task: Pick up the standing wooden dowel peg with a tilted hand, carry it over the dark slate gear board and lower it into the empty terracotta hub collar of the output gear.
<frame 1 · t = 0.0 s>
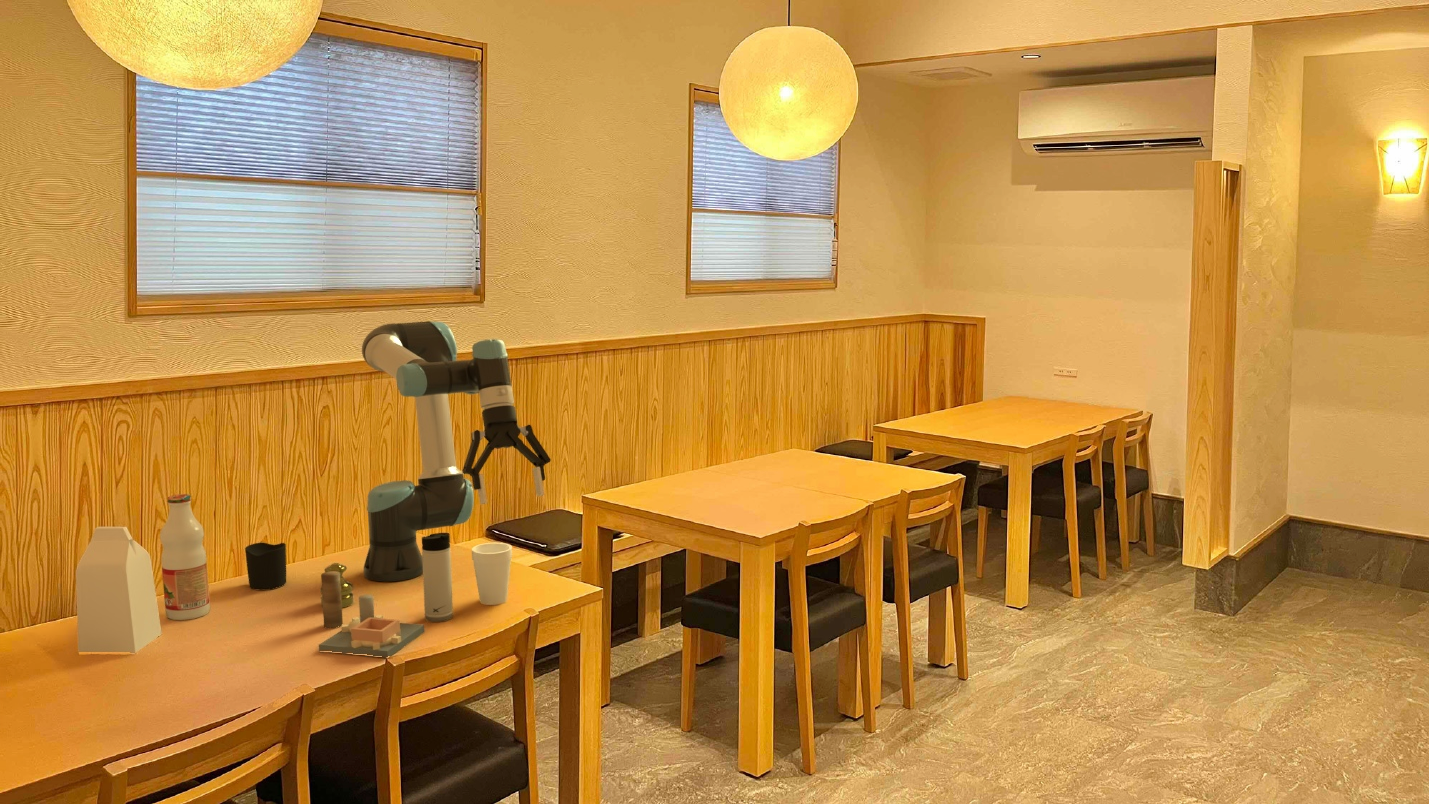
hand: (512, 499, 255), 28 cm above the table, tool tilted 20°, fingers open, 13 cm apart
travel mug: (439, 618, 260), on the table
foam cup: (493, 601, 272), on the table
fruit juice: (188, 614, 263), on the table
milk: (121, 645, 244), on the table
wooden dowel peg: (333, 625, 256), on the table
gear board: (373, 641, 246), on the table
pen holder: (268, 586, 284), on the table
salt shaker: (337, 605, 270), on the table
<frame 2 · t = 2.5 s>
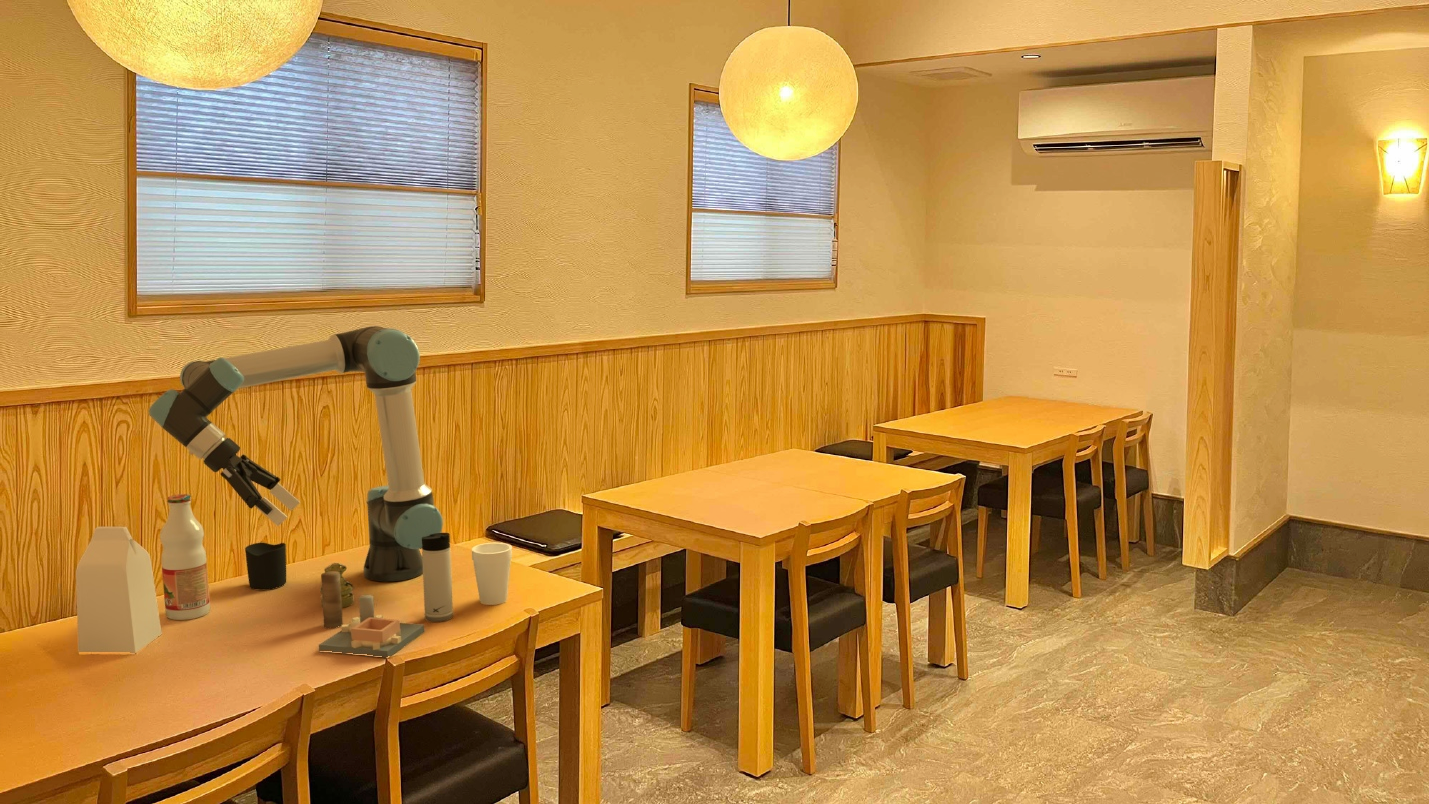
hand: (289, 514, 252), 26 cm above the table, tool tilted 45°, fingers open, 13 cm apart
nothing on the table moved.
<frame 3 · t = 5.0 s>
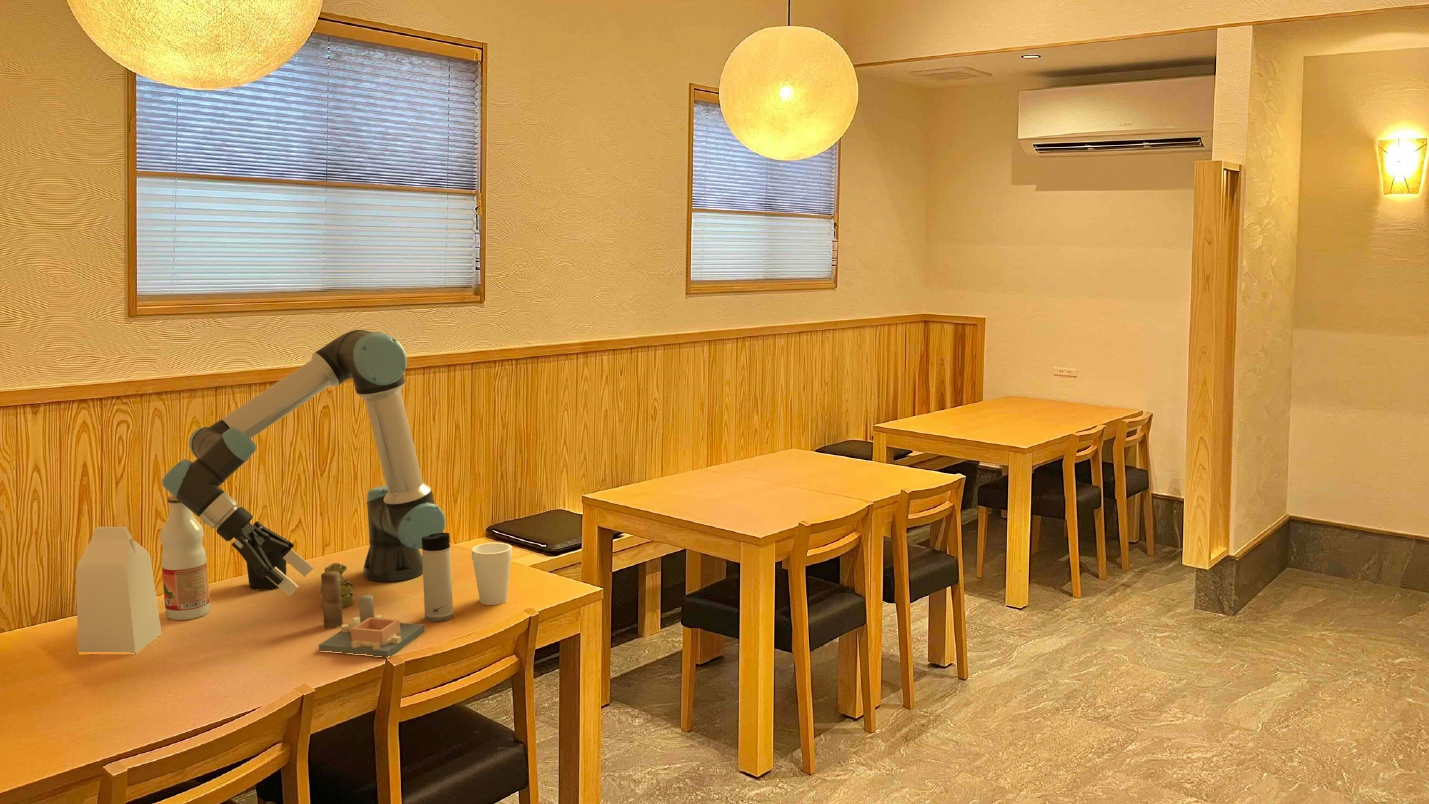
hand: (301, 581, 253), 11 cm above the table, tool tilted 45°, fingers open, 13 cm apart
nothing on the table moved.
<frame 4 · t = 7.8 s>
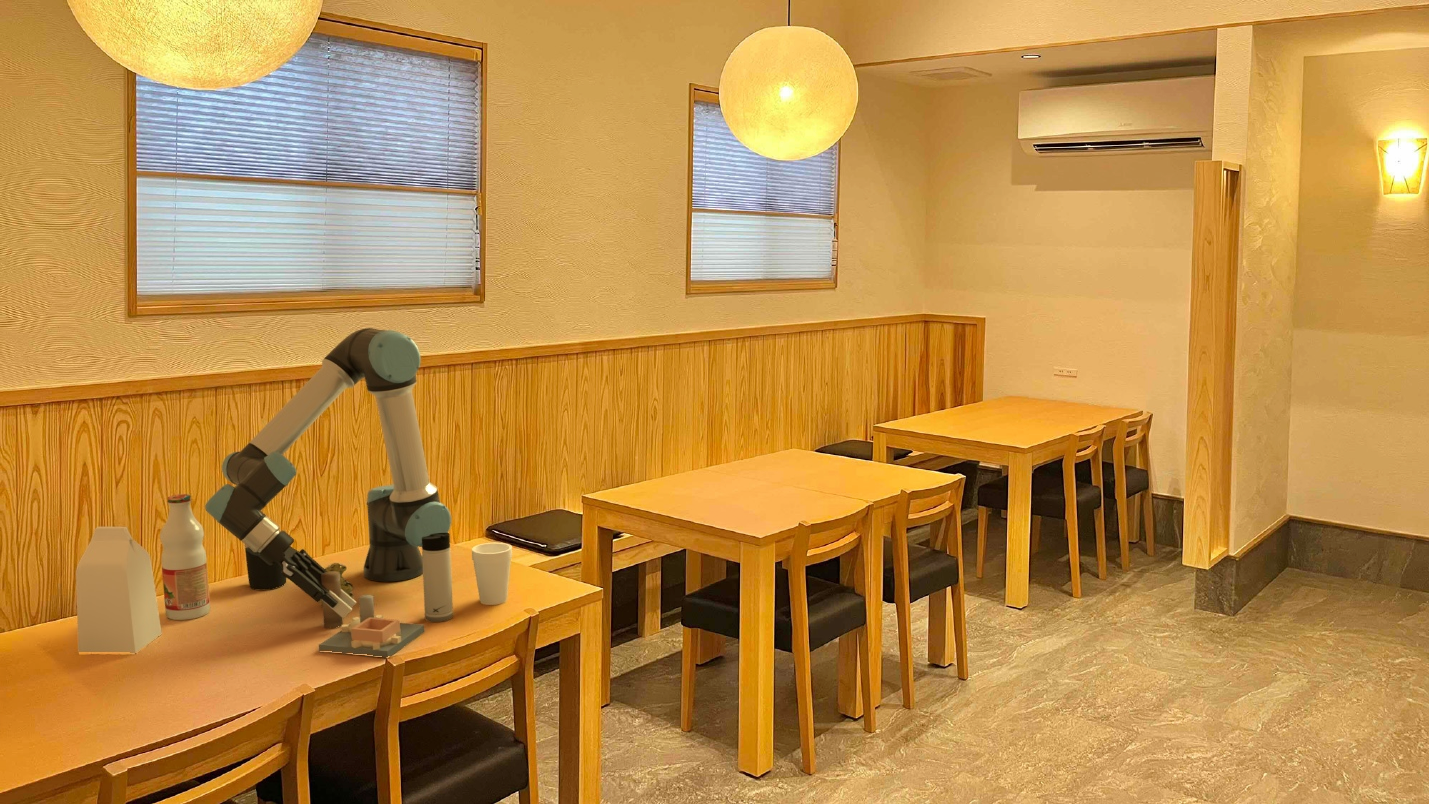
hand: (350, 610, 256), 3 cm above the table, tool tilted 45°, fingers closed on wooden dowel peg, 4 cm apart
wooden dowel peg: (333, 625, 256), on the table, touching gripper
everything else where it was.
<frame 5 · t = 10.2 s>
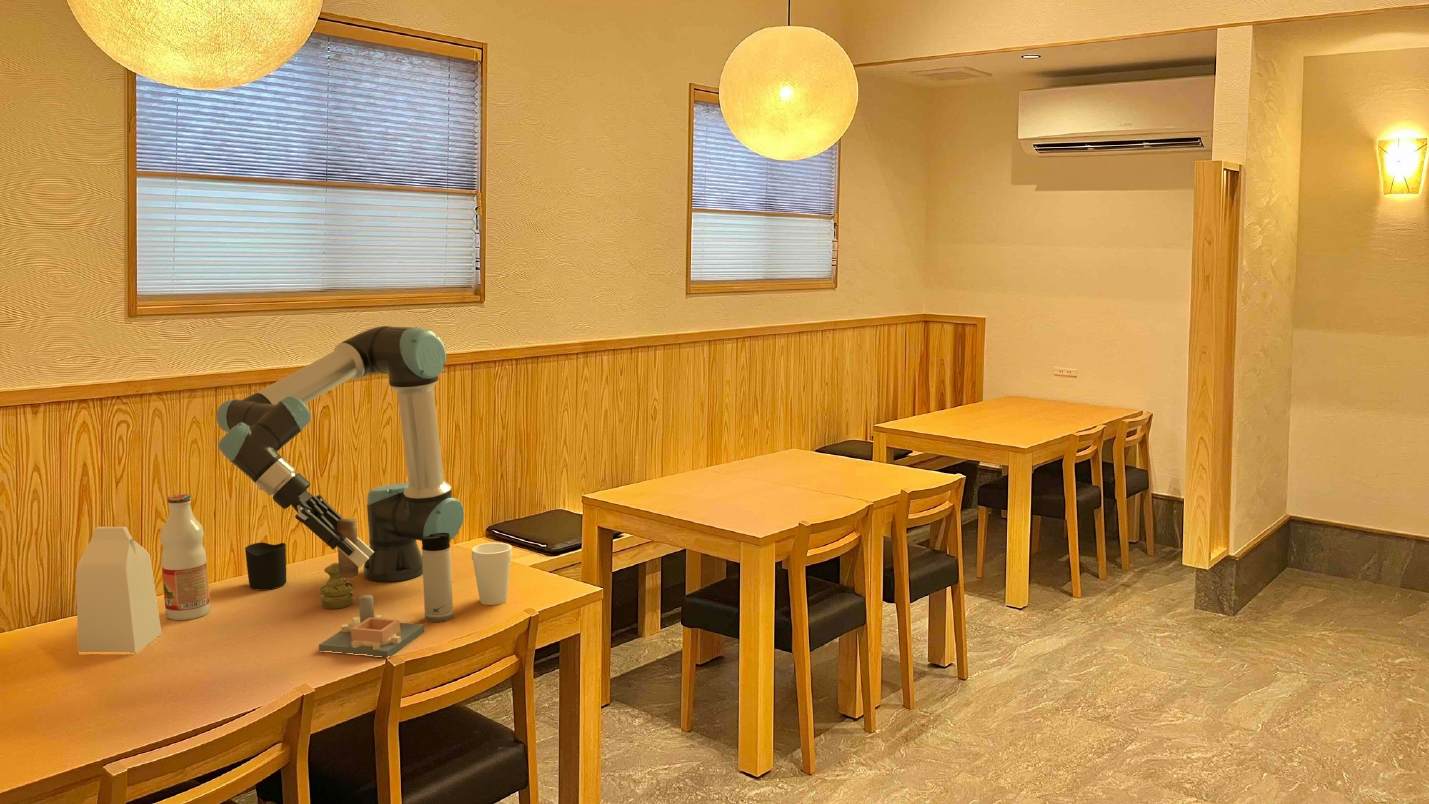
hand: (366, 559, 243), 18 cm above the table, tool tilted 45°, fingers closed on wooden dowel peg, 4 cm apart
wooden dowel peg: (348, 575, 243), point 15 cm above the table, touching gripper
everything else where it was.
when the fingers open (8 cm above the table, at t = 12.9 s): wooden dowel peg drops 1 cm, resting on gear board.
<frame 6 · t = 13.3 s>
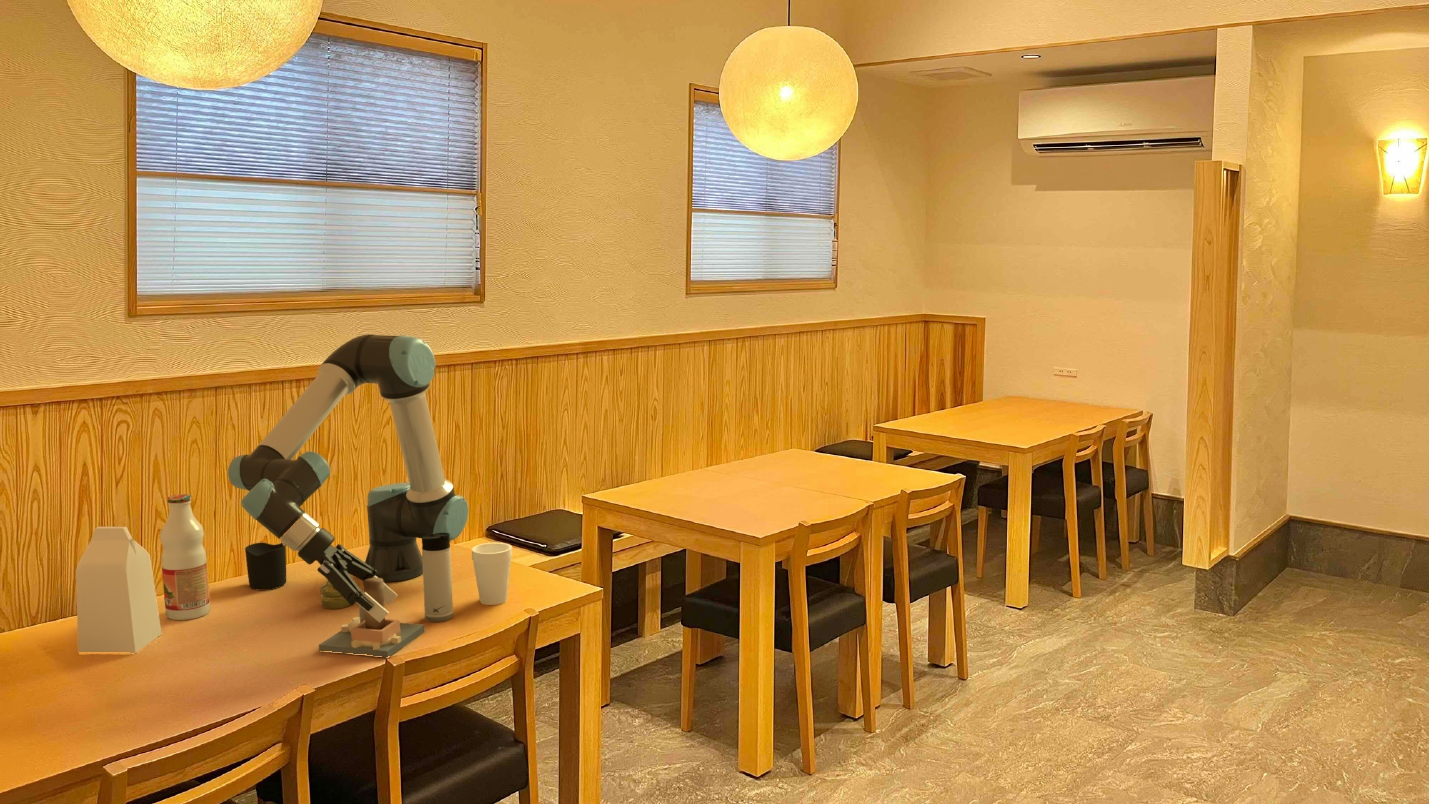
hand: (389, 608, 241), 9 cm above the table, tool tilted 45°, fingers open, 10 cm apart
wooden dowel peg: (375, 635, 242), point 3 cm above the table, touching gear board
everything else where it was.
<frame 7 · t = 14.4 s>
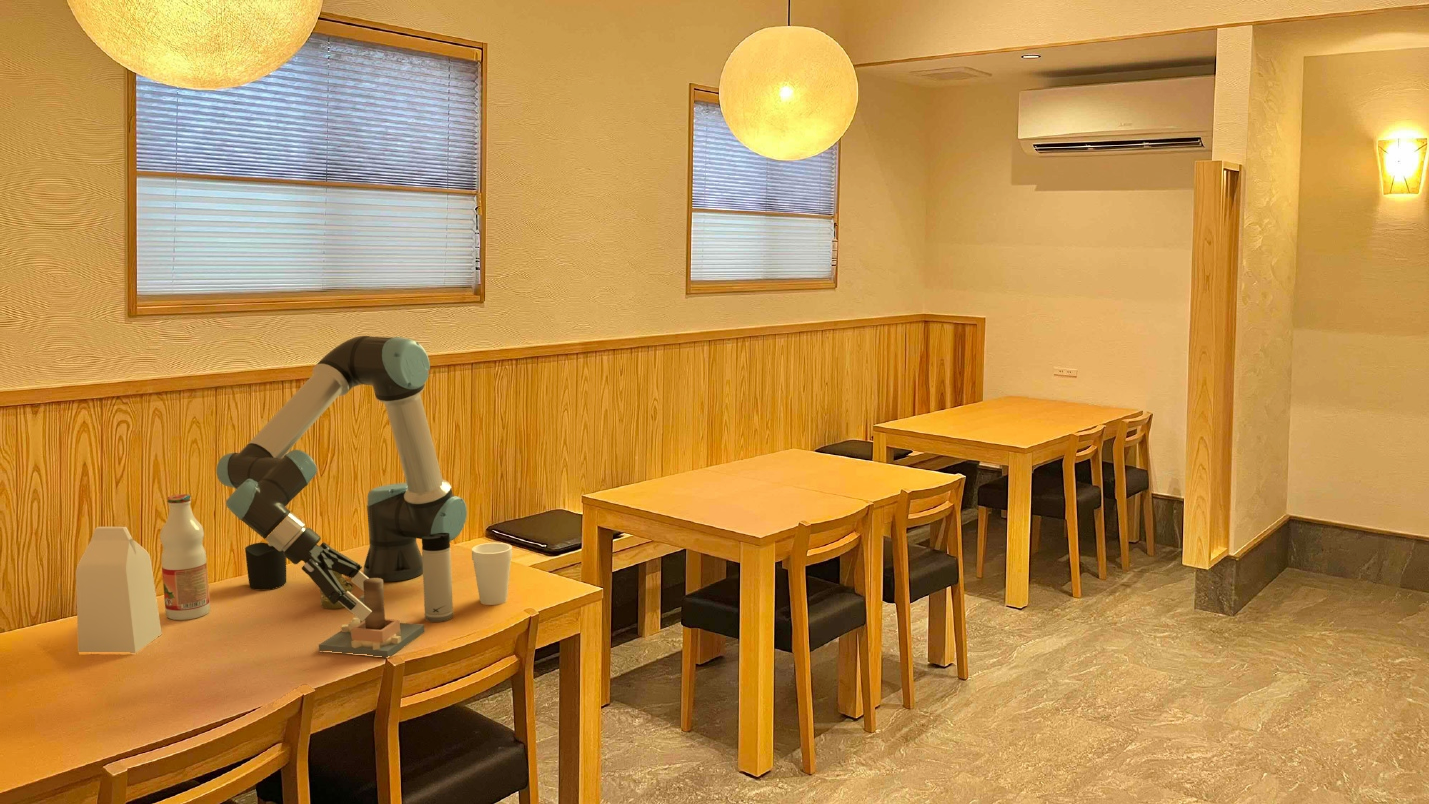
hand: (373, 605, 241), 9 cm above the table, tool tilted 45°, fingers open, 13 cm apart
nothing on the table moved.
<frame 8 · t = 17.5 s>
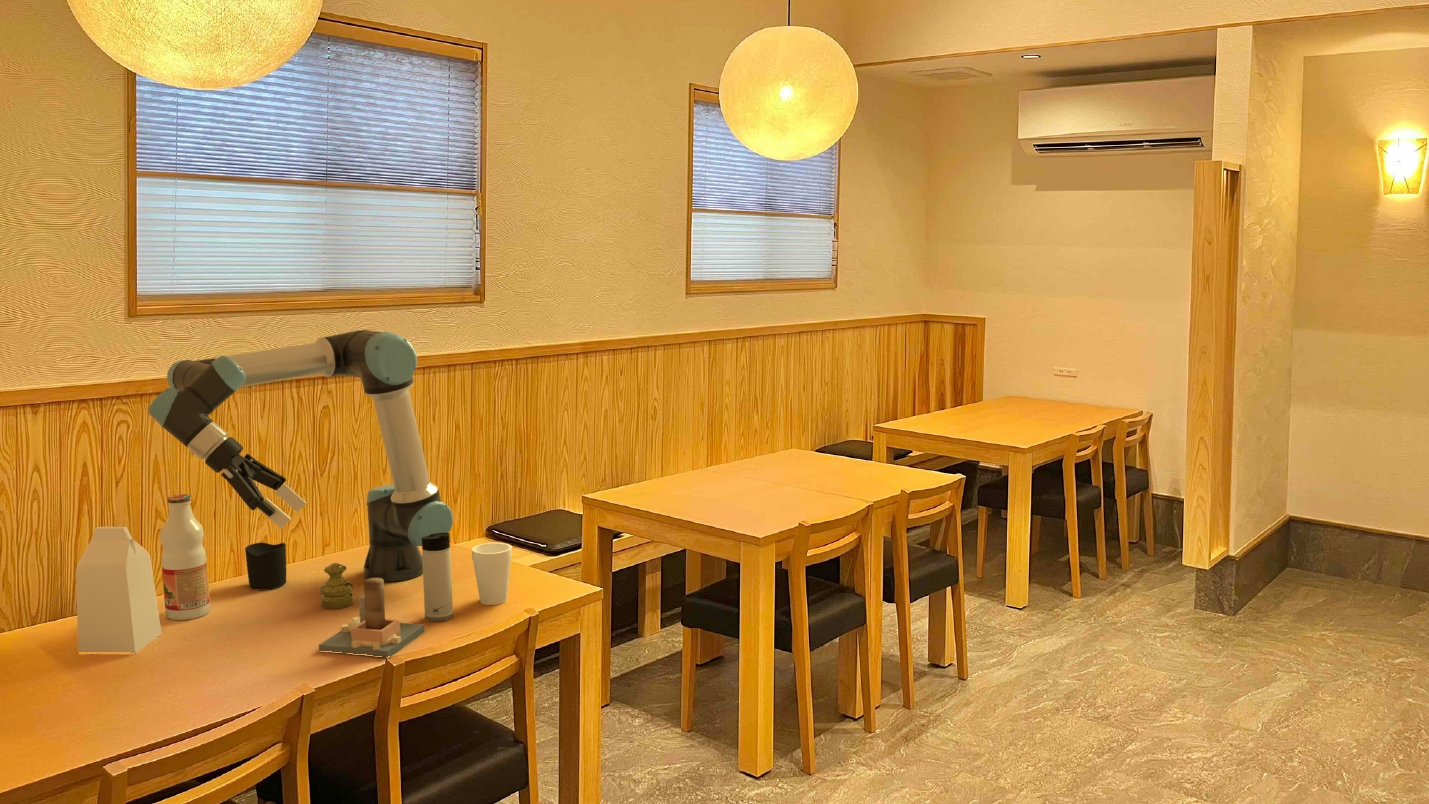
hand: (294, 515, 243), 28 cm above the table, tool tilted 45°, fingers open, 13 cm apart
nothing on the table moved.
at the end: wooden dowel peg 0.1 cm from the target spot on the gear board, point 2.8 cm above the gear board's base; wooden dowel peg tilted 1°; the gripper is holding nothing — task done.
